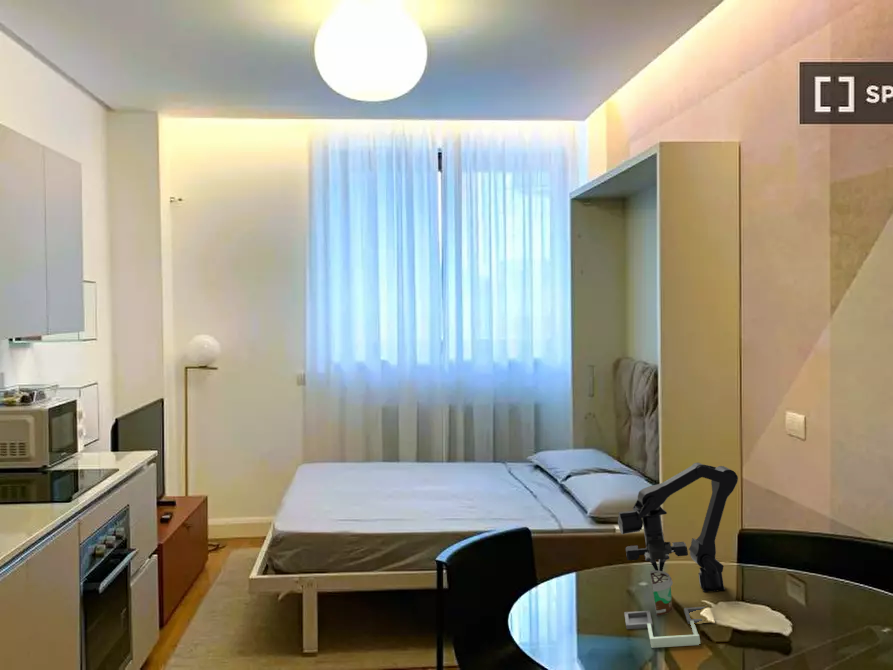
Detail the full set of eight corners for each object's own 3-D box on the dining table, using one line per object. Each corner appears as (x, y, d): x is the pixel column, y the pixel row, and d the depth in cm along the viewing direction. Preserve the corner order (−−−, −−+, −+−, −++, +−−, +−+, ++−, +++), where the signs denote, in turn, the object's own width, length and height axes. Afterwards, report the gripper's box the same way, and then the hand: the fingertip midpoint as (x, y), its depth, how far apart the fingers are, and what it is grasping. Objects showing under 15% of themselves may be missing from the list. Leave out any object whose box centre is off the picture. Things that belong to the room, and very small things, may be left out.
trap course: (710, 610, 223) (709, 602, 223) (723, 643, 202) (722, 634, 202) (624, 616, 228) (623, 608, 228) (629, 649, 206) (627, 640, 206)
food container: (678, 616, 222) (673, 583, 222) (657, 617, 223) (652, 584, 223) (674, 599, 234) (669, 568, 234) (654, 601, 235) (649, 569, 235)
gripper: (624, 539, 232) (631, 589, 232) (686, 534, 228) (693, 584, 228) (622, 528, 243) (629, 576, 243) (682, 523, 239) (688, 571, 239)
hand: (659, 577), depth 238 cm, fingers closed
